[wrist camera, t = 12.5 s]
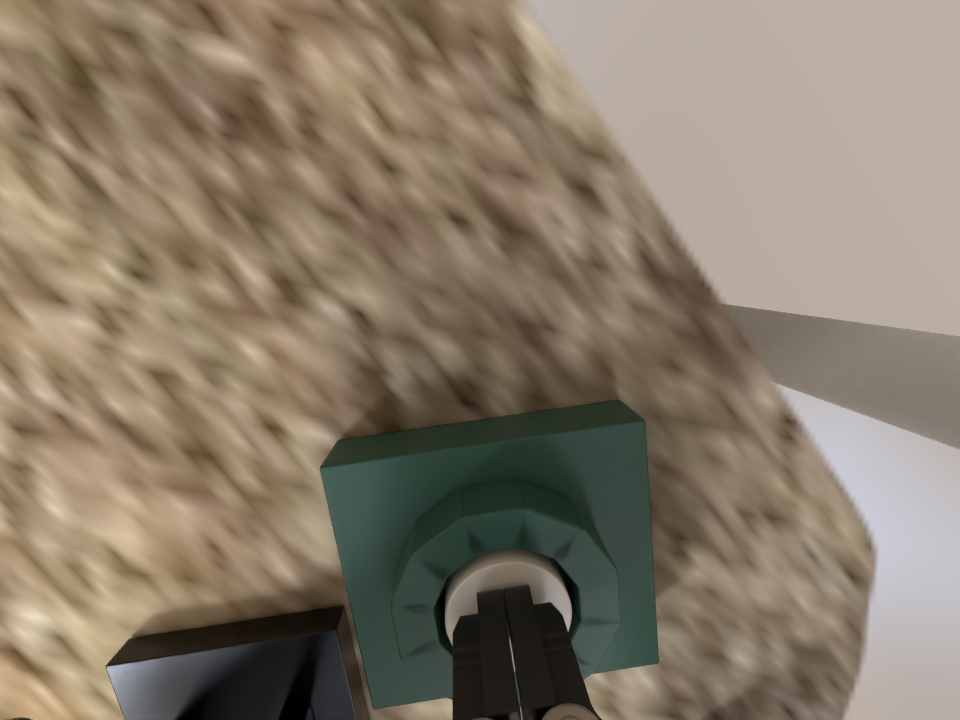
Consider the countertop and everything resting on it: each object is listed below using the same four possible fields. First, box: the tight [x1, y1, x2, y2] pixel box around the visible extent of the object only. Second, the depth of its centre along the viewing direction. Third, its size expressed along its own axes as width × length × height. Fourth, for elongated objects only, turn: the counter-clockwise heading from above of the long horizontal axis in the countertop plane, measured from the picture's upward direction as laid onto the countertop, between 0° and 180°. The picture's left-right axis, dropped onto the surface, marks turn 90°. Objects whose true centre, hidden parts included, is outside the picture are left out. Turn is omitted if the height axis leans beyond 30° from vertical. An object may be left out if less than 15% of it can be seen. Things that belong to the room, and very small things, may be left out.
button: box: [445, 547, 572, 671], centre depth 13 cm, size 4×4×2 cm
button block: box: [320, 400, 659, 709], centre depth 15 cm, size 10×9×4 cm
